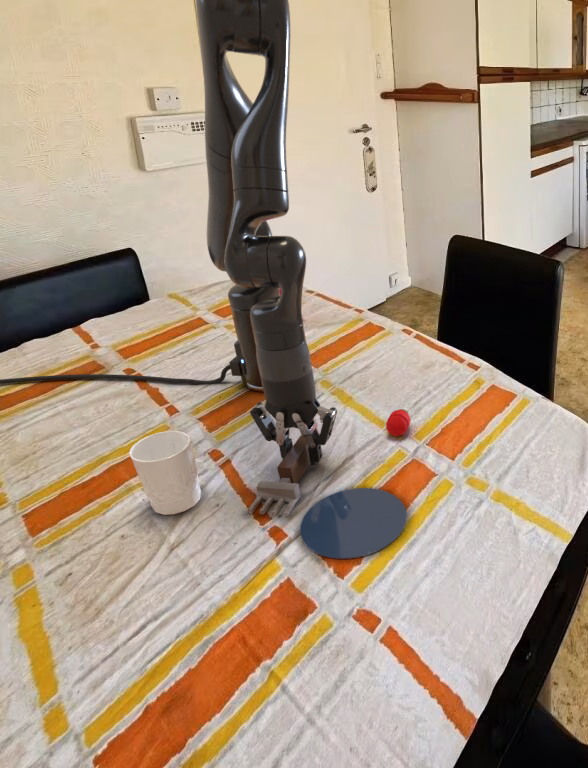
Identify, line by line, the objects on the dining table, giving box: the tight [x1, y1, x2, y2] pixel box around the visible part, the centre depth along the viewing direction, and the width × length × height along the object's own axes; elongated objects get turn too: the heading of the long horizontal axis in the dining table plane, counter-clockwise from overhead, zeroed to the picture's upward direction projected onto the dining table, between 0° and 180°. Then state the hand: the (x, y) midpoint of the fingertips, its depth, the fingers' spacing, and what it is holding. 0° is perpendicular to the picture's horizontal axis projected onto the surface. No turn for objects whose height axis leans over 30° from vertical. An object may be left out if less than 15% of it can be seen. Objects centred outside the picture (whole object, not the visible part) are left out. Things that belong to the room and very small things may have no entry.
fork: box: [247, 434, 311, 518], centre depth 97 cm, size 16×6×4 cm, turn 172°
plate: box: [299, 487, 408, 560], centre depth 89 cm, size 15×15×1 cm
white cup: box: [129, 430, 202, 516], centre depth 91 cm, size 8×8×10 cm
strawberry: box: [385, 408, 411, 437], centre depth 110 cm, size 4×5×4 cm
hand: (302, 461), depth 102 cm, fingers open, 3 cm apart
